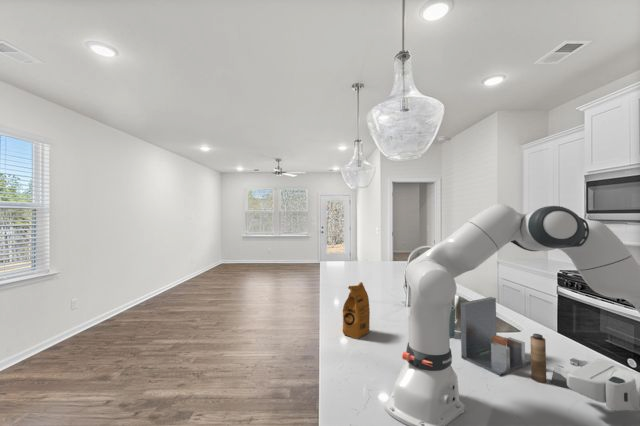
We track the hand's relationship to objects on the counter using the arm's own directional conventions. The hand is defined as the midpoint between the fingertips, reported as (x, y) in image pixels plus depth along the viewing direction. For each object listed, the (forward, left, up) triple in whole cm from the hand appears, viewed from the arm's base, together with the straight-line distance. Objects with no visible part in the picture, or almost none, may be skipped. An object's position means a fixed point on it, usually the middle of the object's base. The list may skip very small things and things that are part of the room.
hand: (563, 364), depth 85 cm
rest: (+7, -2, -8) cm, 11 cm away
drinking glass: (+20, +42, -8) cm, 48 cm away
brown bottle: (+2, +6, -8) cm, 10 cm away
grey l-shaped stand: (+7, +19, -8) cm, 22 cm away
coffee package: (-6, +71, -8) cm, 72 cm away
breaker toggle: (+7, +18, -6) cm, 20 cm away
